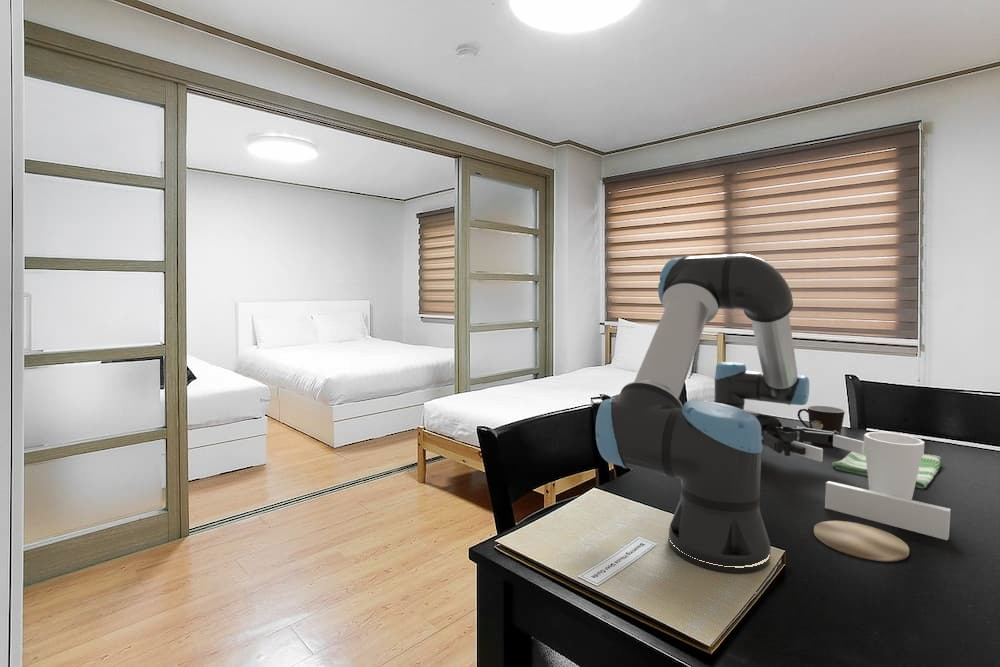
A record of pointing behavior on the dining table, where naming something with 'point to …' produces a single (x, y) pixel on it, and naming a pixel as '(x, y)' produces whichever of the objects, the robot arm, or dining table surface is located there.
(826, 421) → the coffee mug
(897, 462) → the foam cup
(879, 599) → the dining table surface
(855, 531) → the cork coaster
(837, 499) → the low wall
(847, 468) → the dish towel
